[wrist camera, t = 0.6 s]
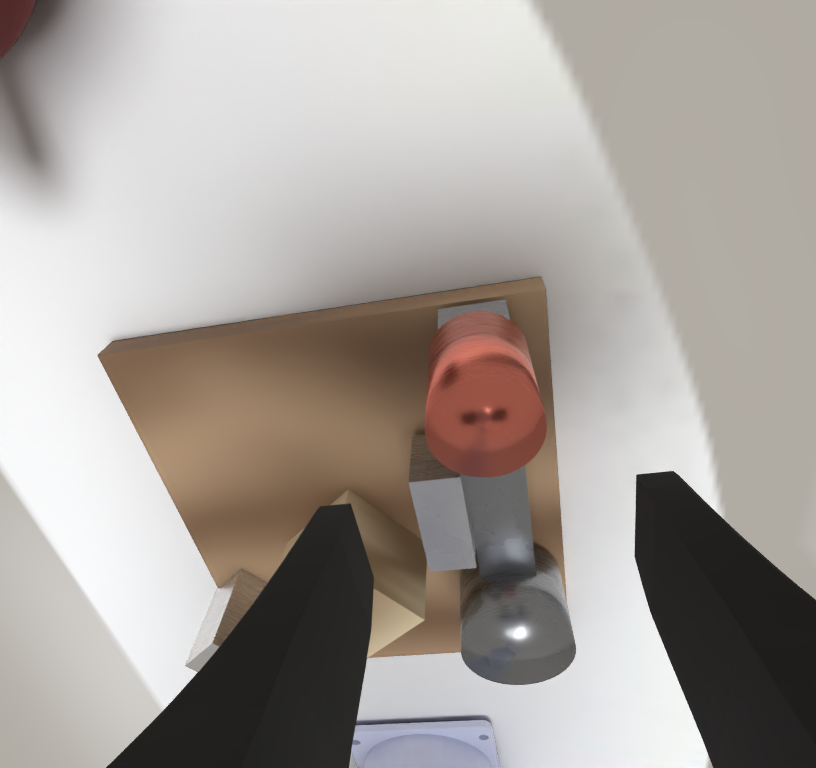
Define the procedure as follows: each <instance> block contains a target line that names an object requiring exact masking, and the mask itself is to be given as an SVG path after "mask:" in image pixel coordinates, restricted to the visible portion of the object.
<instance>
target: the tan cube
mask: <svg viewBox="0 0 816 768" xmlns="http://www.w3.org/2000/svg"><path fill="white" fill-rule="evenodd" d="M349 503H351V506H352V509H353V512H354V515H355V518H356V522H357V525H358V528H359V531H360V534H361V538H362V541H363V544H364V547H365V550H366V554H367V557H368V560H369V563H370V566H371V570H372V573H373V576H374V589H373V611H372V627H371V636H370V642H369V648H368V654H367V658H368V657H370V656H371V655H373V654H374V653H376V652H377V651H379V650H380V649H382V648H383V647H385V646H386V645H388V644H389V643H391V642H392V641H394V640H395V639H397V638H398V637H400V636H401V635H403V634H404V633H406V632H407V631H409V630H410V629H412V628H414V627H415V626H417V625H418V624H420V623H421V622H423V621H424V620H425V597H426V570H427V559H426V554H425V550H424V546H423V542H422V539H421V538H419V537H418V536H416V535H415V534H414V533H412V532H411V531H409V530H408V529H406V528H405V527H403V526H402V525H400V524H399V523H397V522H396V521H394V520H393V519H392V518H390V517H389V516H387V515H386V514H384V513H383V512H381V511H380V510H378V509H377V508H375V507H374V506H373V505H371V504H370V503H368V502H367V501H365V500H364V499H362V498H361V497H359V496H358V495H356V494H355V493H353V492H352V491H351V490H349V489H348V490H347V491H346V492H344V493H343V494H342V495H341V496H340V497H339V498H338V499H336V500H335V501H334V502H333V503H332V504H331V505H339V504H349ZM303 530H304V528H303V529H302V530H301V531H300V532H299V533H298V534H297V535H295V536H294V537H293V538H292V539H291V540H290V541H289V542H287V544H286V547H285V551H284V554H283V557H282V560H281V563H282V561H283V560H284V558H285V557H286V555H287V554H288V552H289V551H290V549H291V548H292V546H293V545H294V543H295V542H296V540H297V539H298V537H299V536H300V534H301V533H302V531H303ZM281 563H280V564H281Z"/></svg>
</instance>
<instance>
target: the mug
mask: <svg viewBox="0 0 816 768" xmlns="http://www.w3.org/2000/svg"><path fill="white" fill-rule="evenodd" d="M35 3H36V0H0V59H2V57H3V56H4V55H5V54H6V53H7V52H8V51H9V50H10V49H11V47H12V46H13V45H14V44H15V42H16V41H17V39H18V38H19V36H20V35H21V33H22V31H23V29H24V28H25V26H26V24H27V22H28V20H29V18H30V16H31V14H32V11H33V8H34V6H35Z"/></svg>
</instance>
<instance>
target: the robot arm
mask: <svg viewBox="0 0 816 768" xmlns="http://www.w3.org/2000/svg"><path fill="white" fill-rule="evenodd" d="M635 559H636V563H637V567H638V570H639V574H640V578H641V581H642V585H643V588H644V592H645V595H646V599H647V602H648V605H649V609H650V612H651V615H652V617H653V620H654V622H655V625H656V627H657V630H658V632H659V634H660V637H661V639H662V642H663V644H664V647H665V649H666V652H667V654H668V657H669V659H670V661H671V664H672V666H673V669H674V671H675V674H676V676H677V678H678V681H679V683H680V686H681V688H682V691H683V693H684V695H685V698H686V700H687V703H688V705H689V707H690V710H691V712H692V715H693V717H694V720H695V722H696V724H697V727H698V729H699V732H700V734H701V737H702V739H703V741H704V744H705V747H706V749H707V752H708V755H709V758H710V760H711V763H712V766H713V768H816V600H815V599H814V598H813V597H812V596H810V595H809V594H808V593H807V592H805V591H804V590H803V589H802V588H800V587H799V586H798V585H797V584H796V583H794V582H793V581H792V580H791V579H790V578H788V577H787V576H786V575H785V574H784V573H782V572H781V571H780V570H779V569H778V568H777V567H775V566H774V565H773V564H772V563H771V562H770V561H769V560H767V558H765V557H764V556H763V555H762V554H761V553H760V552H759V551H758V550H756V549H755V548H754V547H753V546H752V545H751V544H750V543H748V542H747V541H746V540H745V539H744V538H743V537H742V536H741V535H740V534H739V533H738V532H736V531H735V530H734V529H733V528H732V527H731V526H730V525H729V524H728V523H727V522H726V521H725V520H724V519H723V518H722V517H721V516H720V515H718V514H717V513H716V512H715V511H714V510H713V509H712V508H711V507H710V506H709V505H708V504H707V503H706V502H705V501H704V500H703V499H702V498H701V497H700V496H699V495H698V494H697V493H696V492H695V491H694V490H693V489H692V488H691V487H690V486H689V485H688V484H687V483H686V482H685V481H684V480H683V479H682V478H681V477H680V476H679V475H678V474H676V473H675V472H674V471H669V472H659V473H649V474H639V475H637V476H636V521H635ZM373 589H374V576H373V573H372V570H371V566H370V563H369V560H368V557H367V554H366V550H365V547H364V544H363V541H362V538H361V534H360V531H359V528H358V525H357V522H356V518H355V515H354V512H353V509H352V506H351V503H349V504H339V505H329V506H320V507H319V508H318V509H317V510H316V512H315V513H314V515H313V516H312V518H311V519H310V521H309V522H308V524H307V525H306V527H305V528H304V530H303V531H302V533H301V534H300V536H299V537H298V539H297V540H296V542H295V543H294V545H293V546H292V548H291V549H290V551H289V552H288V554H287V555H286V557H285V558H284V560H283V561H282V563H281V564H280V566H279V567H278V569H277V570H276V572H275V573H274V574H273V576H272V577H271V579H270V580H269V581H268V583H267V584H266V586H265V587H264V588H263V590H262V591H261V593H260V594H259V596H258V597H257V598H256V600H255V601H254V602H253V604H252V605H251V607H250V608H249V609H248V611H247V612H246V613H245V614H244V616H243V617H242V618H241V620H240V621H239V622H238V623H237V625H236V626H235V627H234V629H233V630H232V631H231V632H230V634H229V635H228V636H227V638H226V639H225V640H224V641H223V643H222V644H221V645H220V647H219V648H218V649H217V650H216V651H215V653H214V654H213V655H212V656H211V657H210V659H209V660H208V661H207V662H206V663H205V665H204V666H203V667H202V668H201V669H200V670H199V672H198V673H197V674H196V675H195V676H194V677H193V679H192V680H191V681H190V682H189V683H188V684H187V685H186V686H185V687H184V689H183V690H182V691H181V692H180V693H179V694H178V695H177V696H176V698H175V699H174V700H173V701H172V702H171V703H170V704H169V705H168V706H167V707H166V708H165V709H164V710H163V711H162V712H161V713H160V714H159V715H158V717H157V718H156V719H155V720H154V721H153V722H152V723H151V724H150V725H149V726H148V727H147V728H146V729H145V730H144V731H143V732H142V733H141V734H140V735H139V736H138V737H137V738H136V739H135V740H134V741H133V742H132V743H131V744H130V745H129V746H128V747H127V748H126V749H125V750H124V751H123V752H122V753H121V754H120V755H119V756H118V757H117V758H116V759H115V760H114V761H113V762H112V763H111V764H110V765H108V766H107V767H106V768H349V763H350V755H351V752H352V755H353V757H354V759H355V762H356V764H357V766H358V768H500V765H499V760H498V755H497V750H496V744H495V739H494V734H493V729H492V725H491V723H490V722H488V721H486V720H468V721H445V722H422V723H399V724H376V725H356V720H357V714H358V708H359V702H360V696H361V690H362V684H363V679H364V673H365V667H366V660H367V654H368V648H369V642H370V636H371V627H372V611H373Z"/></svg>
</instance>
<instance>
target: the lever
mask: <svg viewBox="0 0 816 768" xmlns="http://www.w3.org/2000/svg"><path fill="white" fill-rule="evenodd" d="M546 432H547V422H546V416H545V412H544V408H543V404H542V401H541V397H540V393H539V389H538V385H537V381H536V377H535V373H534V369H533V366H532V362H531V358H530V354H529V350H528V346H527V343H526V340H525V337H524V335H523V333H522V332H521V330H520V329H519V328H518V327H517V326H516V325H515V324H514V323H513V322H512V321H511V320H510V316H509V312H508V307H507V303H506V299H504V300H497V301H490V302H483V303H477V304H470V305H463V306H456V307H449V308H442V309H438V331H437V332H436V334H435V335H434V337H433V339H432V341H431V344H430V348H429V358H428V377H427V395H426V413H425V434H424V435H416V436H412V446H411V458H410V470H409V482H408V483H409V487H410V491H411V496H412V500H413V504H414V508H415V512H416V517H417V521H418V525H419V529H420V533H421V538H422V542H423V546H424V550H425V554H426V559H427V563H428V567H429V571H430V572H434V571H446V570H458V569H461V571H460V576H459V584H460V626H461V654H462V658H463V660H464V662H465V664H466V665H467V666H468V667H469V668H470V669H471V670H472V671H473V672H474V673H476V674H477V675H479V676H481V677H483V678H485V679H488V680H490V681H494V682H498V683H502V684H511V685H525V684H533V683H538V682H542V681H545V680H548V679H551V678H553V677H555V676H557V675H559V674H560V673H562V672H563V671H564V670H566V669H567V668H568V667H569V665H570V664H571V663H572V661H573V659H574V657H575V654H576V645H575V640H574V636H573V631H572V626H571V621H570V617H569V612H568V607H567V602H566V598H565V593H564V588H563V583H562V578H561V574H560V569H559V567H558V565H557V563H556V561H555V560H554V559H553V558H552V557H551V556H550V555H549V554H547V553H546V552H544V551H543V550H541V549H539V548H536V547H534V546H533V536H532V527H531V517H530V507H529V497H528V488H527V478H526V468H525V465H526V464H527V463H528V462H530V461H531V460H532V459H533V458H534V457H535V456H536V455H537V453H538V452H539V450H540V449H541V447H542V445H543V443H544V440H545V437H546ZM475 547H476V549H475Z"/></svg>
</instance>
